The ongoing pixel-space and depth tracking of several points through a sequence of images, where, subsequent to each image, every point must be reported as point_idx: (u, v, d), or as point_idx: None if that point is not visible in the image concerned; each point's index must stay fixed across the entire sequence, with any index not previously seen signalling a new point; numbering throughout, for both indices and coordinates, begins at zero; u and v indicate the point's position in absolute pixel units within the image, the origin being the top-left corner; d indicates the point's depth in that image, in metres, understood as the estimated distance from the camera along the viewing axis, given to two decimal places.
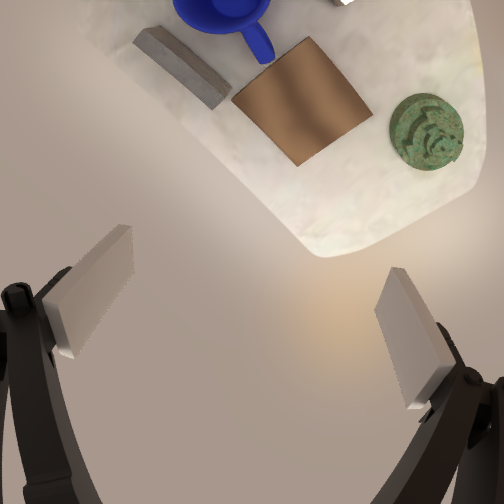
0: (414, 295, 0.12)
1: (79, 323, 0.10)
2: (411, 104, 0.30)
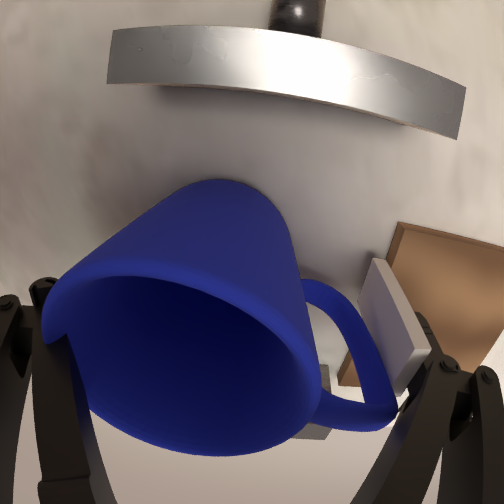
0: (393, 284, 0.13)
1: None
2: None
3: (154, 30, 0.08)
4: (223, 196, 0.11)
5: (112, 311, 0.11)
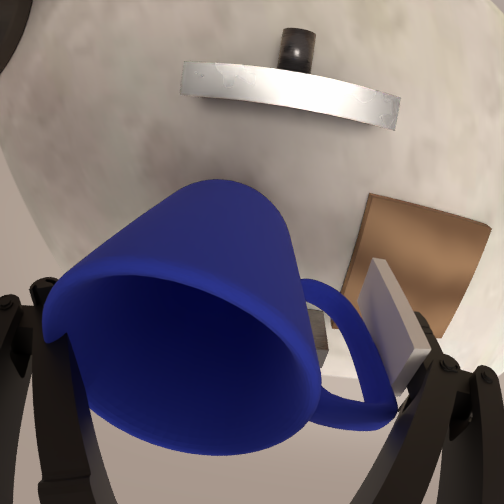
0: (393, 284, 0.13)
1: None
2: None
3: (211, 64, 0.14)
4: (224, 196, 0.11)
5: (112, 311, 0.11)
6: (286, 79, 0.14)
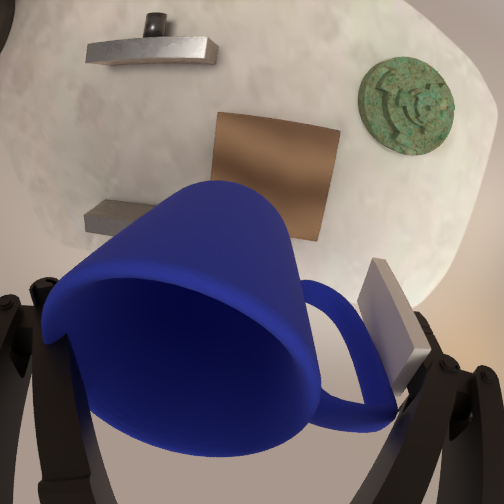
0: (393, 284, 0.13)
1: None
2: (364, 93, 0.25)
3: (100, 43, 0.21)
4: (223, 197, 0.11)
5: (112, 312, 0.11)
6: (137, 43, 0.22)
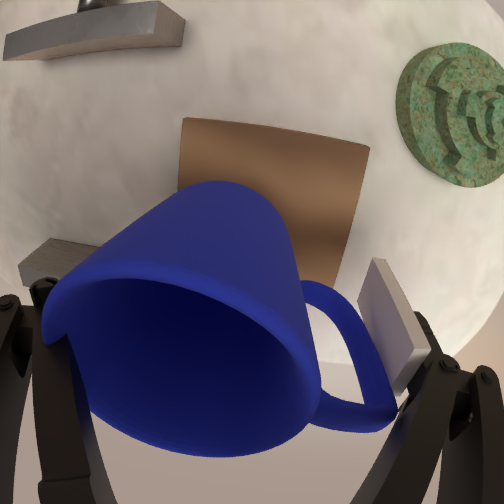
0: (393, 284, 0.13)
1: None
2: (409, 92, 0.15)
3: (19, 31, 0.12)
4: (223, 197, 0.11)
5: (112, 312, 0.11)
6: (62, 23, 0.12)
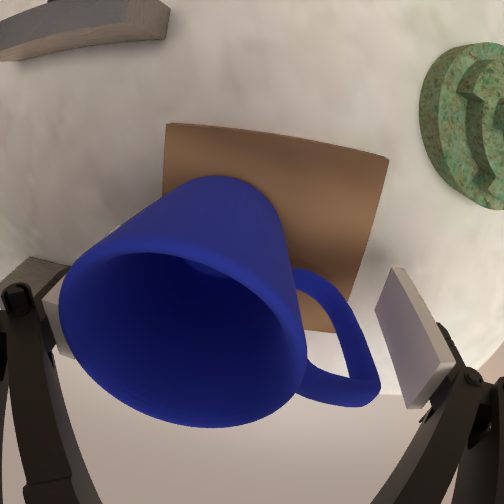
0: (414, 295, 0.12)
1: None
2: (437, 99, 0.12)
3: None
4: (222, 190, 0.12)
5: (120, 293, 0.12)
6: (27, 18, 0.09)
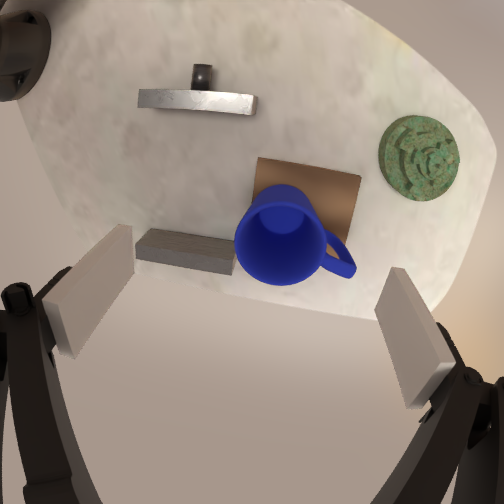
0: (414, 295, 0.12)
1: (79, 323, 0.10)
2: (384, 149, 0.31)
3: (152, 90, 0.28)
4: (291, 190, 0.31)
5: (248, 230, 0.31)
6: (189, 95, 0.28)
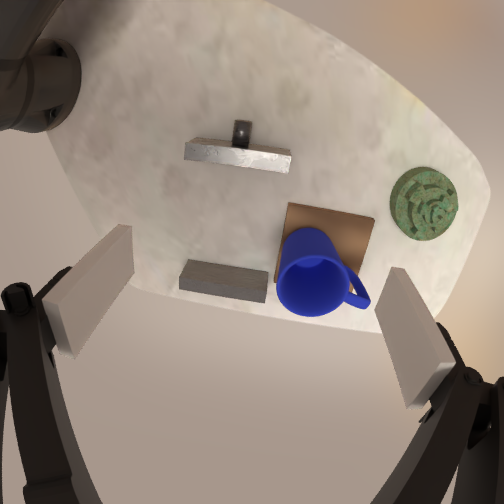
0: (414, 295, 0.12)
1: (79, 323, 0.10)
2: (396, 200, 0.37)
3: (198, 145, 0.34)
4: (319, 237, 0.37)
5: None
6: (233, 152, 0.34)
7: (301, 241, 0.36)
